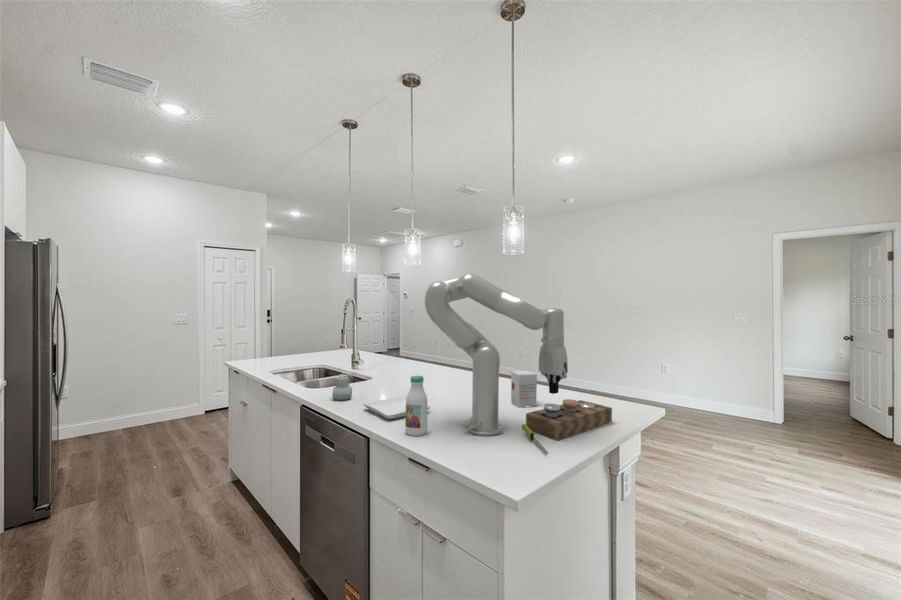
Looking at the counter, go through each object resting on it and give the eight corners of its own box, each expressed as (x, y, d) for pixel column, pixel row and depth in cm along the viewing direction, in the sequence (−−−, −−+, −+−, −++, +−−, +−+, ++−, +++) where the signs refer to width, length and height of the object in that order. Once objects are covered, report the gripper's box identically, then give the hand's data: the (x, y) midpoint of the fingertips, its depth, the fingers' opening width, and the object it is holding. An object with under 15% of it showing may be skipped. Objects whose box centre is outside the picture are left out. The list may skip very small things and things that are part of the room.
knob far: (589, 422, 149) (589, 407, 149) (576, 419, 153) (576, 404, 153) (597, 420, 152) (597, 405, 152) (585, 416, 157) (585, 402, 157)
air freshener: (350, 401, 178) (350, 380, 178) (332, 402, 176) (332, 380, 176) (352, 395, 188) (352, 375, 188) (334, 396, 187) (334, 375, 187)
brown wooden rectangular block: (557, 440, 130) (557, 423, 130) (525, 429, 142) (526, 413, 142) (611, 422, 151) (611, 407, 151) (580, 414, 162) (580, 400, 162)
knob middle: (572, 420, 142) (572, 403, 142) (559, 416, 147) (559, 400, 147) (581, 417, 146) (581, 401, 146) (568, 413, 150) (568, 398, 150)
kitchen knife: (550, 461, 116) (550, 452, 116) (546, 462, 116) (546, 452, 115) (524, 431, 138) (525, 423, 138) (521, 431, 138) (521, 423, 137)
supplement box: (510, 402, 179) (510, 370, 179) (528, 401, 181) (528, 370, 181) (518, 408, 170) (518, 374, 170) (536, 407, 172) (537, 373, 172)
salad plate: (431, 413, 161) (431, 405, 161) (387, 423, 147) (388, 414, 147) (403, 403, 177) (404, 395, 177) (362, 411, 164) (362, 403, 164)
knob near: (553, 425, 136) (553, 408, 136) (540, 421, 140) (540, 405, 140) (562, 422, 139) (563, 406, 139) (550, 418, 143) (550, 402, 143)
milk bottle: (417, 427, 142) (418, 373, 142) (431, 433, 136) (432, 376, 137) (401, 432, 137) (401, 376, 137) (414, 438, 131) (415, 379, 131)
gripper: (530, 341, 143) (531, 390, 143) (564, 345, 131) (564, 398, 131) (543, 340, 148) (544, 387, 148) (577, 343, 136) (577, 395, 136)
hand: (553, 392), depth 140 cm, fingers closed
